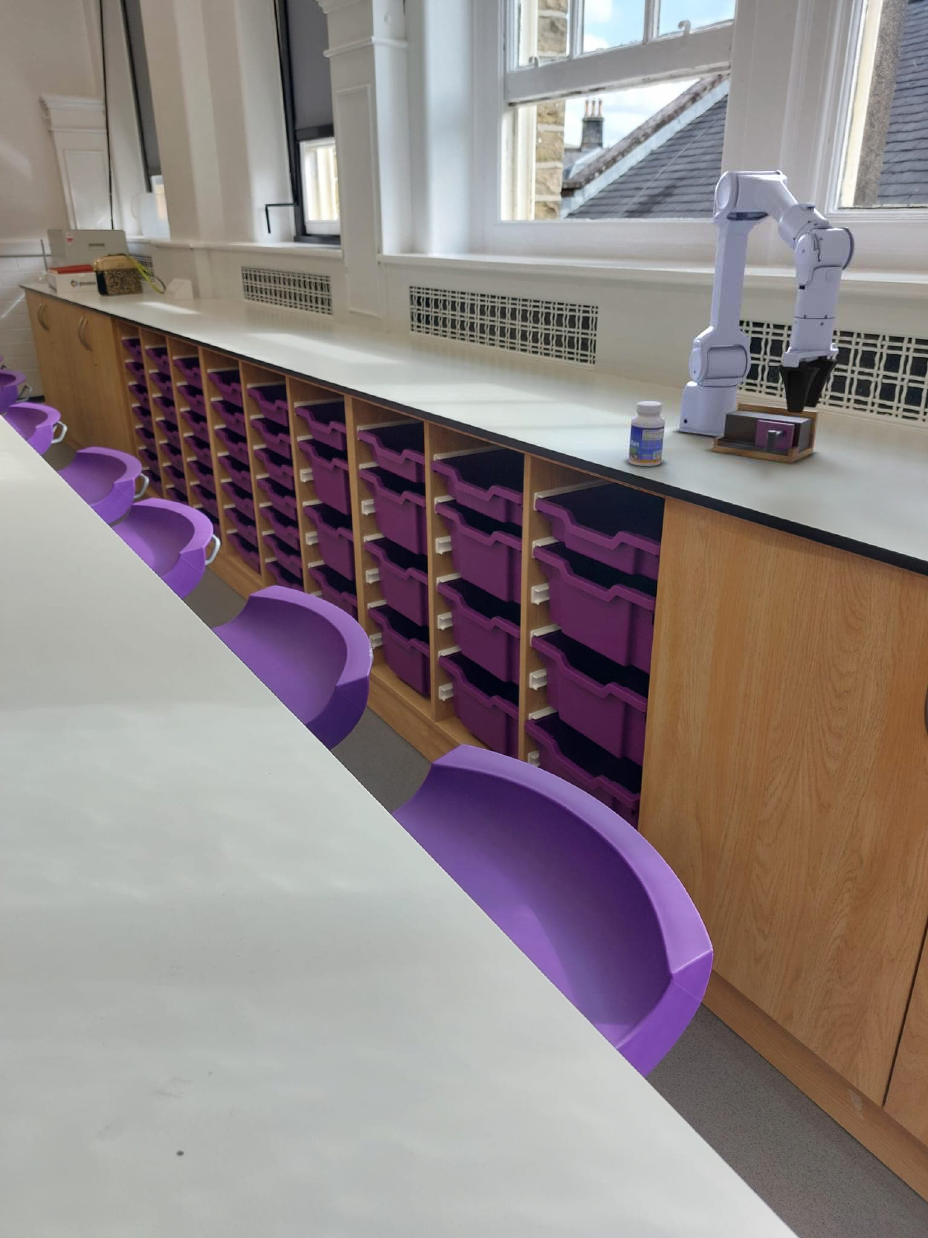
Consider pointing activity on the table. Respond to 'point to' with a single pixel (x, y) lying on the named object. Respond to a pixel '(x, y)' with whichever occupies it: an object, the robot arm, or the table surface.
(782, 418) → the sliding door box
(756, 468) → the table surface
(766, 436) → the sliding door
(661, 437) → the pill bottle
